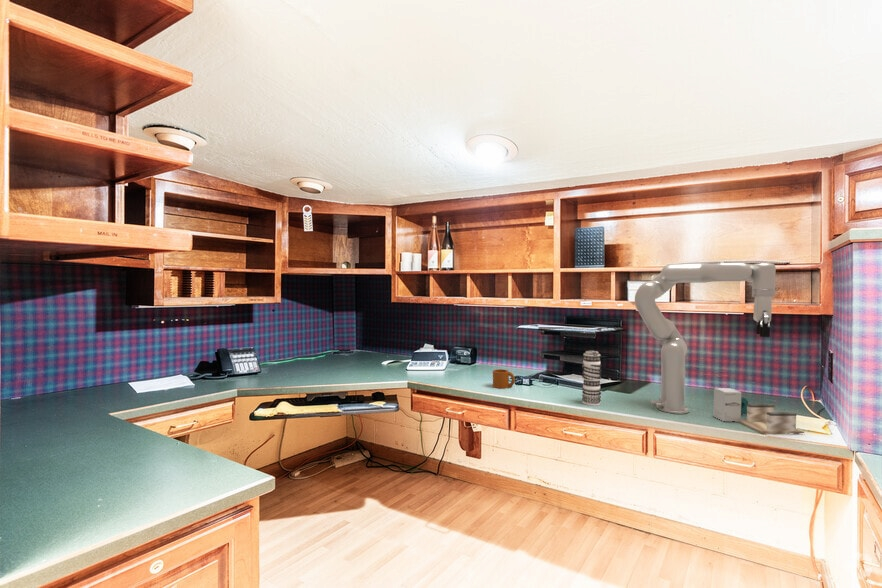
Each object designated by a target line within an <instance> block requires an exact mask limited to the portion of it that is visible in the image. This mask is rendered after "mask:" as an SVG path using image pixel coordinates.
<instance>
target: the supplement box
mask: <svg viewBox="0 0 882 588" xmlns="http://www.w3.org/2000/svg"><path fill="white" fill-rule="evenodd" d="M741 397H742V391H739V390H736V389H734V388H730V387H729V388H727V387H714V388H713V412H712V413H713V415H712V417H714V418H715V417H716V419H717V418H718V420H719V419H720V420H719V421H721V420H722V421H721V422H723V421H725V422H732V421H735V422H737V423H739V420H742V415H741Z"/></svg>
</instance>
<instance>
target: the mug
mask: <svg viewBox="0 0 882 588" xmlns="http://www.w3.org/2000/svg"><path fill="white" fill-rule="evenodd" d="M509 377H510V378H511V382H510V378H509ZM515 381H516V378H515V375H514V373H513V372H511V371H509V370H507V369H492V388H494V389H499V390H500V389H501V390H503V389H505V390H506V389H508V388H511V387H512V386H514V385H515V383H516V382H515Z"/></svg>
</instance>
